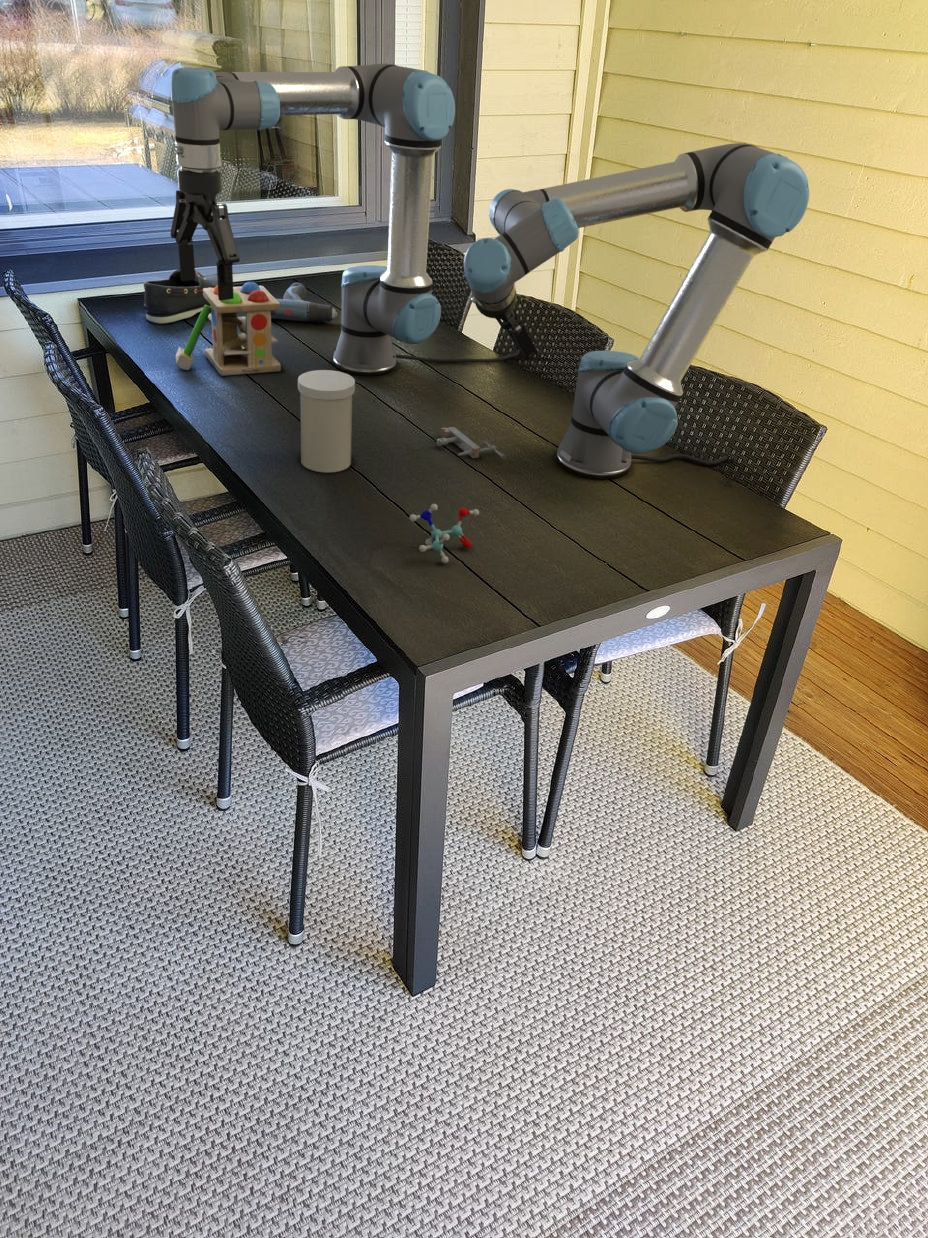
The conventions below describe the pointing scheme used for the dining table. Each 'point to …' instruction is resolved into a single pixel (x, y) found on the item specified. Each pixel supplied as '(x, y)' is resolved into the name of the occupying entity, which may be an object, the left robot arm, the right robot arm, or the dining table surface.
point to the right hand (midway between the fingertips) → (503, 325)
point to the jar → (326, 433)
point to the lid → (326, 384)
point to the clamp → (464, 443)
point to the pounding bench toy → (229, 347)
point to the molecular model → (437, 533)
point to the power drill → (301, 307)
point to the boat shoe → (176, 297)
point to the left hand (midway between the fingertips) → (206, 289)
